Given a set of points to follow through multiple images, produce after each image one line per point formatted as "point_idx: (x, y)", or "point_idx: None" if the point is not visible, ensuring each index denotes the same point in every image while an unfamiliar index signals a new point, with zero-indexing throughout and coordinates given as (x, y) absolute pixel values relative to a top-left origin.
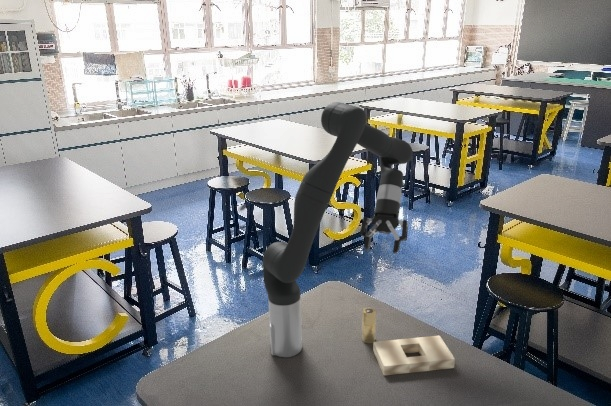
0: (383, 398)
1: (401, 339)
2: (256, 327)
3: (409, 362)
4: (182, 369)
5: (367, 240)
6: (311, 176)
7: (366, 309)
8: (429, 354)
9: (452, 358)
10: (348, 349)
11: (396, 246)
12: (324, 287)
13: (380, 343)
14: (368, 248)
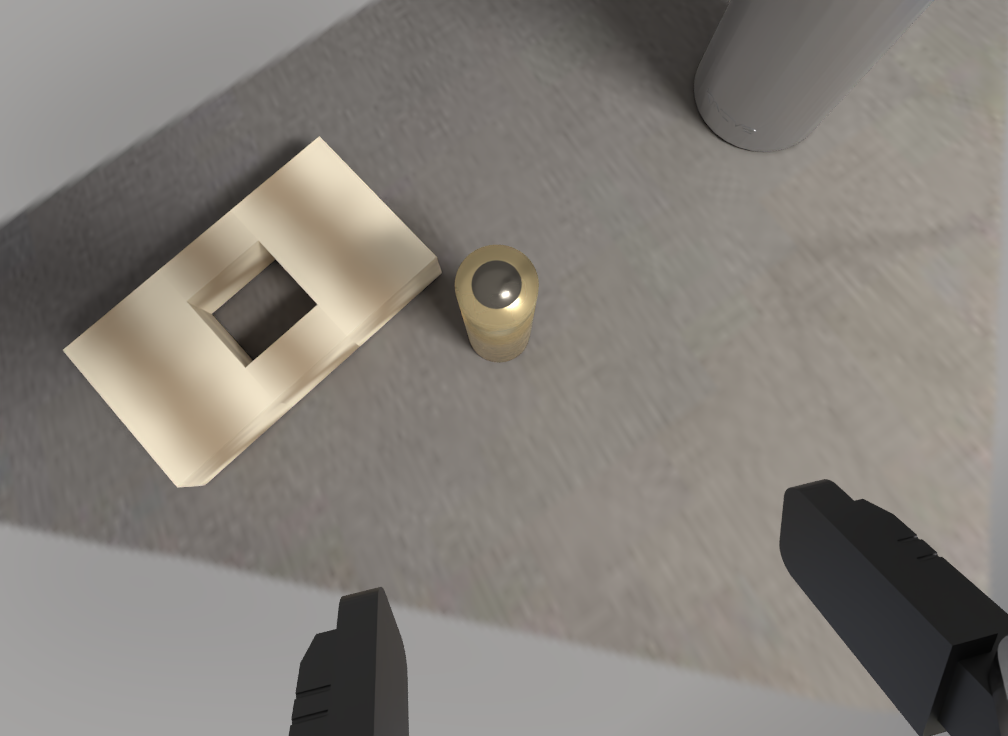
0: (284, 64)
1: (330, 347)
2: (971, 131)
3: (234, 215)
4: None
5: (928, 586)
6: None
7: (518, 287)
8: (175, 316)
9: (73, 346)
10: (538, 226)
11: (333, 708)
12: None
13: (403, 265)
14: (799, 531)
